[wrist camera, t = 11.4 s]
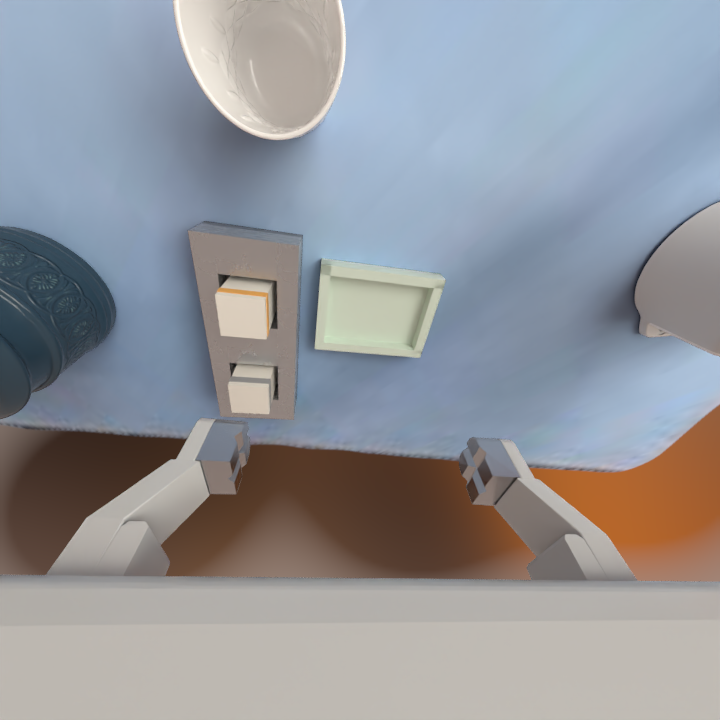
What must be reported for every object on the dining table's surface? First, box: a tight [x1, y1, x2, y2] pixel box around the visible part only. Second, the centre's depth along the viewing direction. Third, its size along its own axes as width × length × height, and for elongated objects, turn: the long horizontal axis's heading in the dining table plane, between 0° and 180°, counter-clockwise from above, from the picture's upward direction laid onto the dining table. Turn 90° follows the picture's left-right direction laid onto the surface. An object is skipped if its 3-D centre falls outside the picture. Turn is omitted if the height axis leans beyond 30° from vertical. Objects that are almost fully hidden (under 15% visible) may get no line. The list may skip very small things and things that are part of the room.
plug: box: [215, 275, 276, 340], centre depth 28 cm, size 4×4×6 cm
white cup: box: [173, 0, 346, 140], centre depth 18 cm, size 8×8×10 cm
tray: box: [315, 258, 446, 358], centre depth 33 cm, size 13×10×2 cm
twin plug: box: [228, 363, 277, 414], centre depth 33 cm, size 4×4×6 cm
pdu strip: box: [188, 221, 303, 420], centre depth 32 cm, size 9×22×4 cm, turn 171°
